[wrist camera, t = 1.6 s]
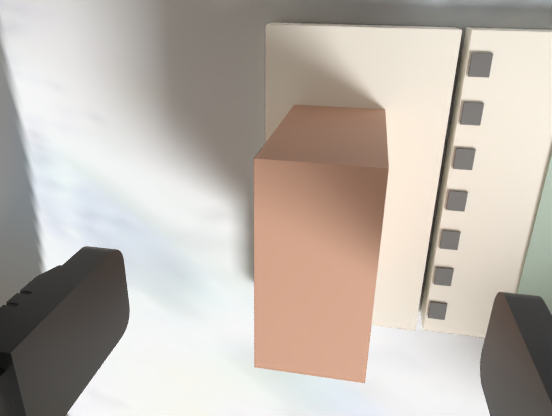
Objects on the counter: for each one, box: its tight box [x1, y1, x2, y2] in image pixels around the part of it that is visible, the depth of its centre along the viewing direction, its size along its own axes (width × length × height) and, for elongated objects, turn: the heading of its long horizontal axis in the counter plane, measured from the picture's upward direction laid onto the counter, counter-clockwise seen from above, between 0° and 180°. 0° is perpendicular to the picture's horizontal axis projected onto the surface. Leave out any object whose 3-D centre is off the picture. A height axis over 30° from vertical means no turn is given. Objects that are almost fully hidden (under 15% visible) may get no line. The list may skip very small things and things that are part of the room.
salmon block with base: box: [254, 23, 462, 383], centre depth 15 cm, size 6×11×7 cm, turn 0°
